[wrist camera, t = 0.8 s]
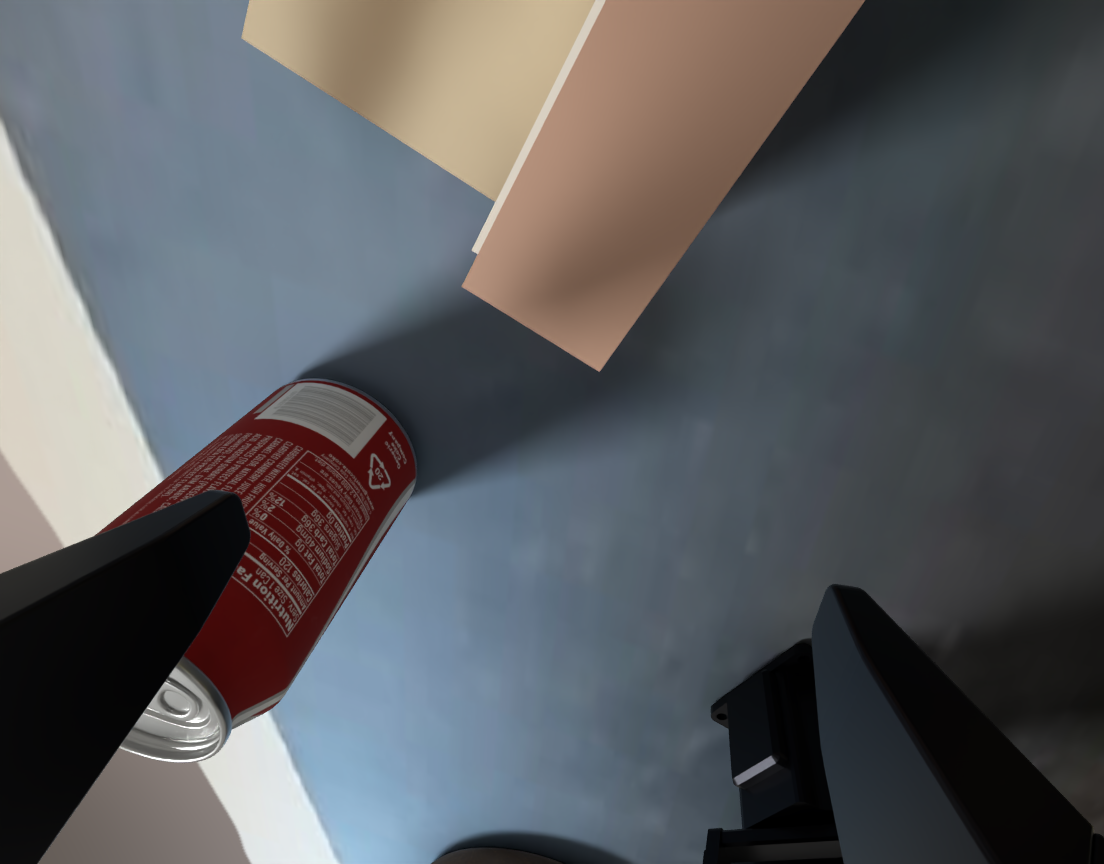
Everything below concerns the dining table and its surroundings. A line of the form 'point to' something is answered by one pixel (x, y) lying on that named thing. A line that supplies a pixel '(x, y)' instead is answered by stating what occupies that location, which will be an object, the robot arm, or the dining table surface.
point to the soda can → (277, 553)
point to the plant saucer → (493, 857)
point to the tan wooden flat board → (430, 69)
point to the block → (640, 156)
